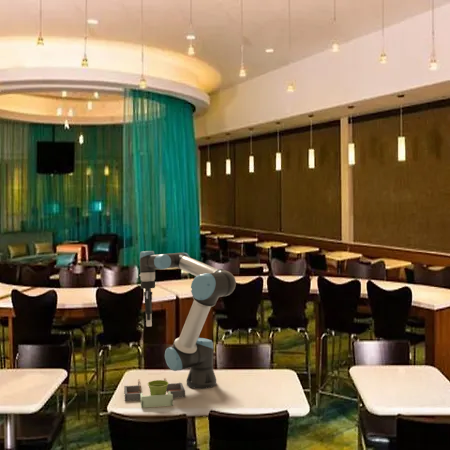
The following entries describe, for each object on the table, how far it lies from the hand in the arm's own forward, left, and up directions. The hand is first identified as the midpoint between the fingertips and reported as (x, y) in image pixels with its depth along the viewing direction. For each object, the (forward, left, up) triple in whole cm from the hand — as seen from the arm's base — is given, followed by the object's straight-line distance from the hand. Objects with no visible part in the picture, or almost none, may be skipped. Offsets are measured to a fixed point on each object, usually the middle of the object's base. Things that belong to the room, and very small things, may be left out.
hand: (149, 326), depth 291 cm
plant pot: (-16, +30, -28) cm, 44 cm away
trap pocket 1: (-2, +26, -28) cm, 38 cm away
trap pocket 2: (-20, +18, -28) cm, 39 cm away
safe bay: (-15, +31, -28) cm, 44 cm away
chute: (-7, +13, -28) cm, 31 cm away
